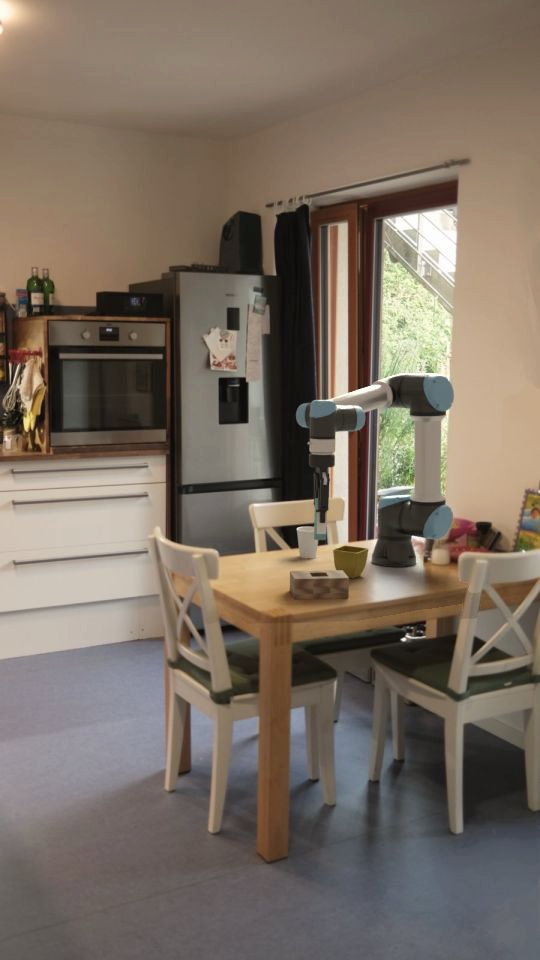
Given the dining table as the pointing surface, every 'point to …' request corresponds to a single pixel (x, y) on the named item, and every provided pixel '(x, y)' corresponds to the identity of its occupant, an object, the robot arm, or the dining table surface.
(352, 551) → the flower pot
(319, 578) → the block
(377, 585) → the dining table surface
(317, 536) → the pin
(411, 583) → the dining table surface
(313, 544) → the dixie cup
